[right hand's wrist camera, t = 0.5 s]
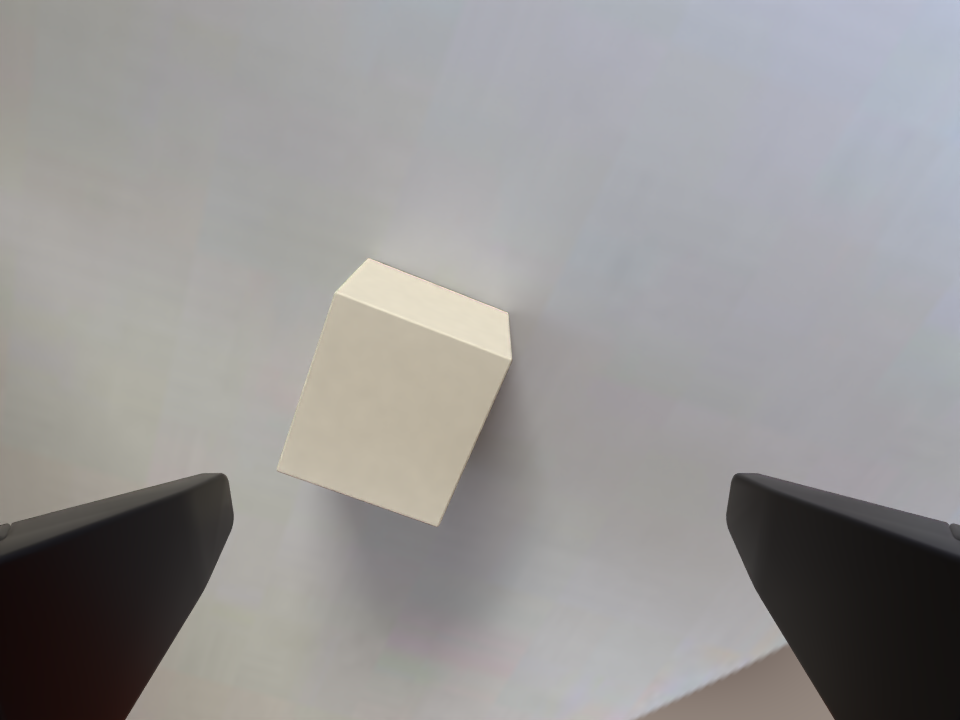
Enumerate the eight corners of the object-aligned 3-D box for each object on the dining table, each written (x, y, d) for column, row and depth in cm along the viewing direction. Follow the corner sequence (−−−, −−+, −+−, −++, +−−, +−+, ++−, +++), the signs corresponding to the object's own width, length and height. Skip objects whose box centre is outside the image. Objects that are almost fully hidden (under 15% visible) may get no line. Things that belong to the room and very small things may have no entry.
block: (316, 405, 20) (275, 471, 16) (367, 257, 19) (334, 290, 15) (448, 453, 21) (438, 528, 17) (509, 312, 19) (513, 359, 15)
